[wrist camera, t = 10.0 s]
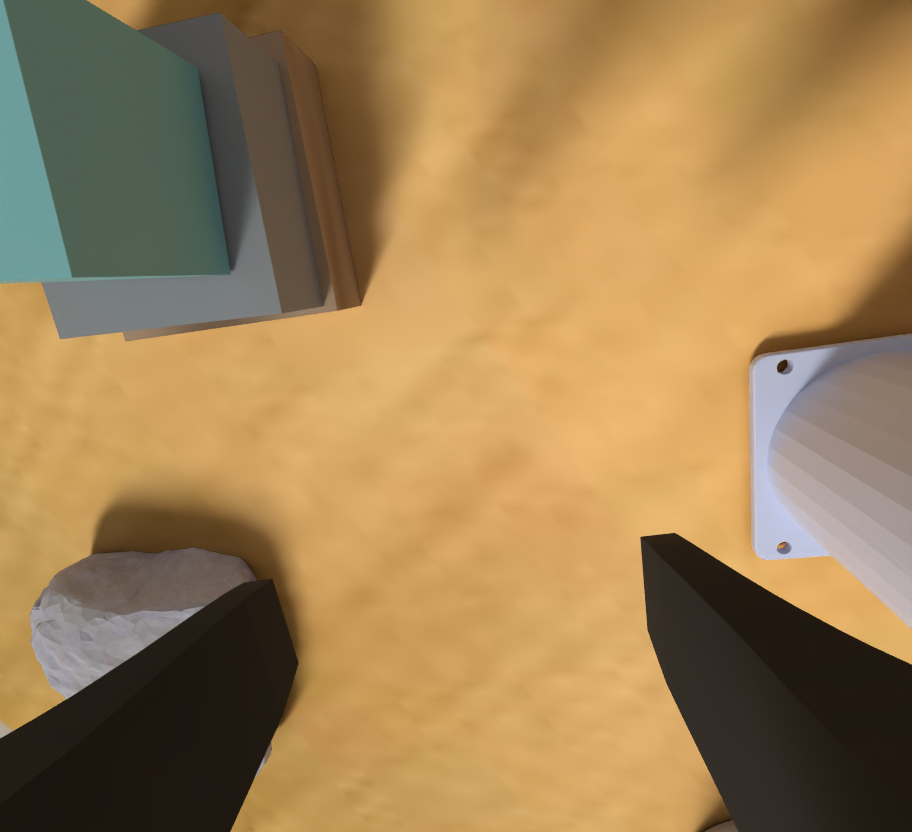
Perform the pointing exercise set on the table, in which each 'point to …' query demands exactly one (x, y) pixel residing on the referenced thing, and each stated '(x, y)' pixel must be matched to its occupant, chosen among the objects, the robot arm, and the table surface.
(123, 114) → the teal cube
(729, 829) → the cupcake
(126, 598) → the stone block
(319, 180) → the walnut slab
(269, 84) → the grey block
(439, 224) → the table surface
